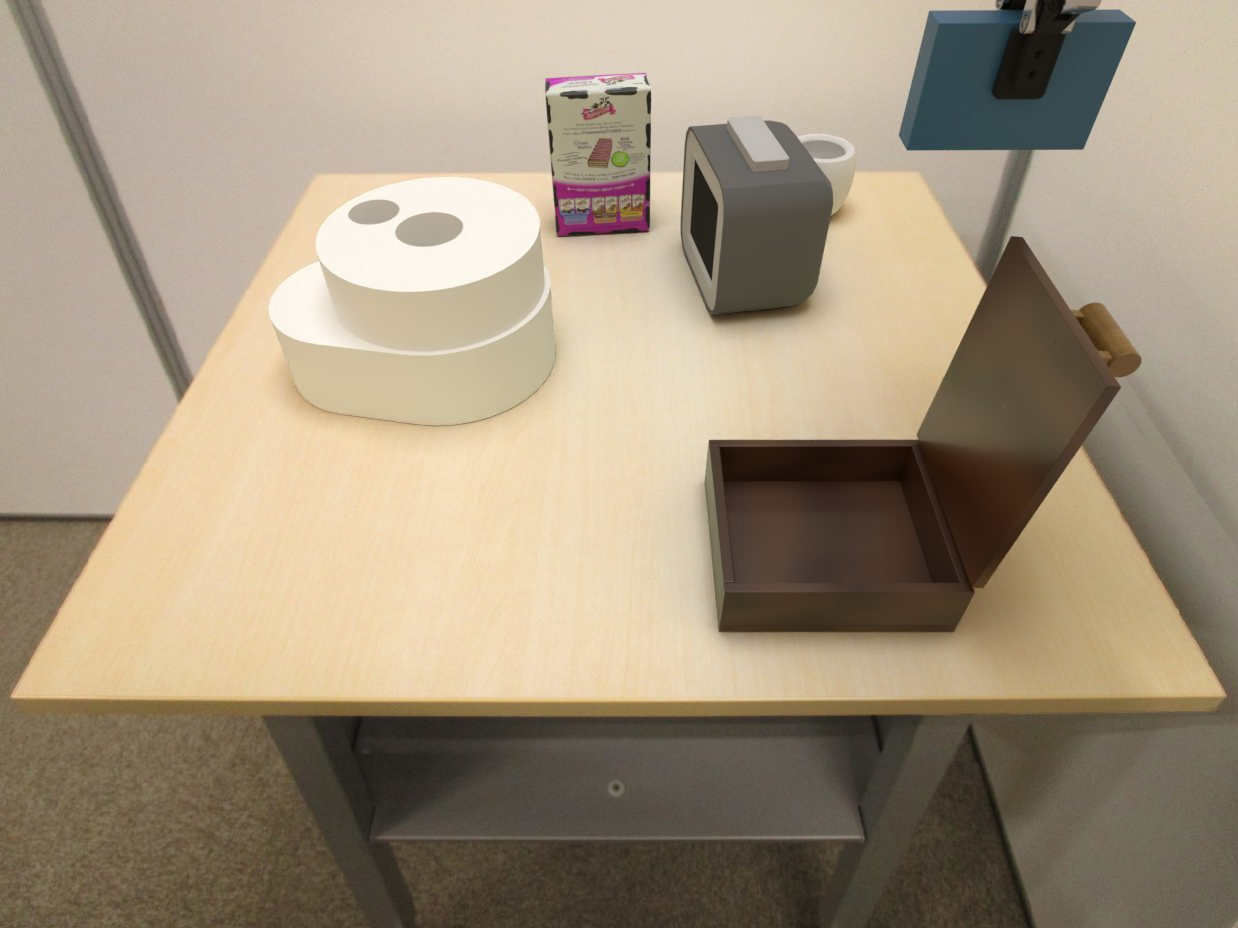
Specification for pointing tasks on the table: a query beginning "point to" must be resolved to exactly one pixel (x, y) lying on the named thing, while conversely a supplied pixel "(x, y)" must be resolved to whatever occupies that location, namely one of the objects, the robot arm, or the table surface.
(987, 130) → the blue hardcover book
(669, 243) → the table surface
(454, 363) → the container
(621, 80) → the candy bar box
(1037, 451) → the lid
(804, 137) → the mug
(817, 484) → the box
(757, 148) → the alarm clock
